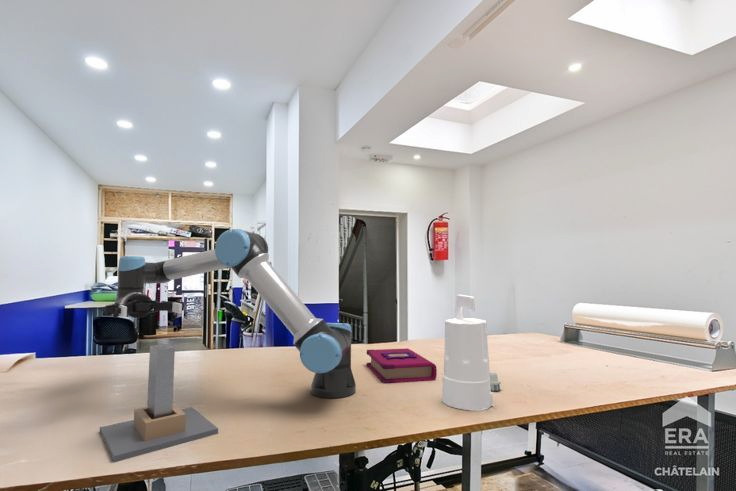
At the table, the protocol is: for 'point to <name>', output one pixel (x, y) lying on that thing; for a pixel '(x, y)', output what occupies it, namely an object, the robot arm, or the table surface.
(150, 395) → the grey rectangular post
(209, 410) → the table surface
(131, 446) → the slotted post base
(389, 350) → the book
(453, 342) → the white pump bottle
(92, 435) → the table surface
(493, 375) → the toothbrush head
